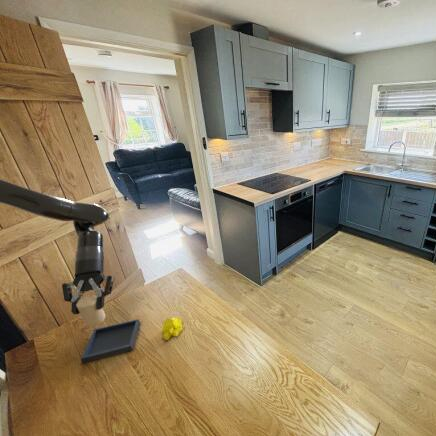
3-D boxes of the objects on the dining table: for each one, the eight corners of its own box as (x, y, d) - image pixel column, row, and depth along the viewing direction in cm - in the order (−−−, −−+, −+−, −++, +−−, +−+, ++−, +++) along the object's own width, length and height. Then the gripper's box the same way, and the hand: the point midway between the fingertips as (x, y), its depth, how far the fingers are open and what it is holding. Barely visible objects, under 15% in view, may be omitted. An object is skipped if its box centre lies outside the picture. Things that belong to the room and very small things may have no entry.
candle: (82, 322, 80) (71, 300, 75) (100, 311, 84) (90, 289, 80) (90, 329, 77) (79, 306, 73) (109, 317, 82) (99, 295, 78)
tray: (82, 363, 79) (80, 359, 78) (96, 333, 90) (94, 328, 89) (132, 350, 84) (131, 345, 83) (140, 323, 95) (138, 318, 94)
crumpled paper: (186, 324, 95) (182, 309, 91) (172, 341, 87) (168, 326, 84) (173, 321, 96) (169, 306, 93) (159, 337, 89) (154, 322, 85)
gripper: (57, 262, 76) (52, 317, 71) (109, 254, 81) (109, 305, 76) (70, 266, 83) (67, 317, 78) (118, 259, 88) (118, 306, 82)
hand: (88, 311), depth 77 cm, fingers closed on candle, 5 cm apart
